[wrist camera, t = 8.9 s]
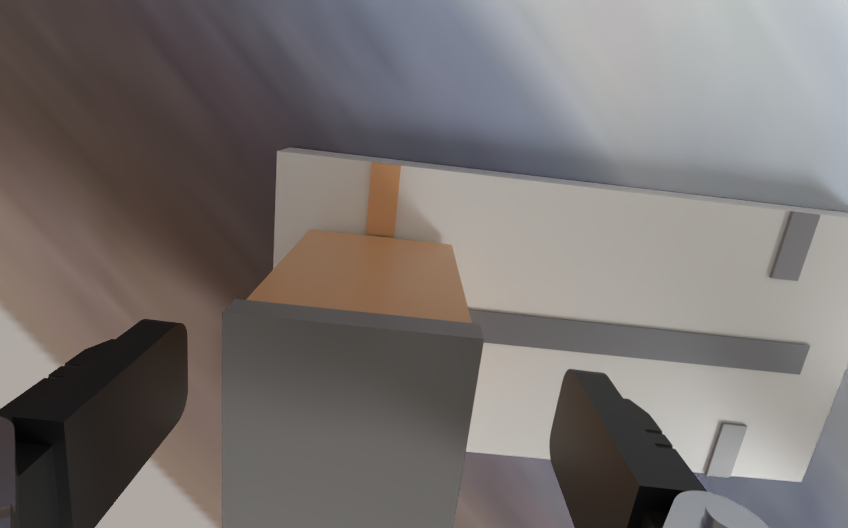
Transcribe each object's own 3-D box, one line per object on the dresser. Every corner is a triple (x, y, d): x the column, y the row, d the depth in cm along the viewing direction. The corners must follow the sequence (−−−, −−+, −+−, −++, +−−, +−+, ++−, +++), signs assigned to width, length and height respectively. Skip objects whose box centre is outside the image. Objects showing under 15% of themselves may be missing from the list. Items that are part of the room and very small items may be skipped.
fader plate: (860, 213, 16) (907, 224, 15) (772, 453, 19) (804, 484, 17) (290, 147, 15) (276, 151, 14) (279, 407, 18) (266, 435, 16)
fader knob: (455, 241, 14) (484, 338, 8) (433, 402, 16) (443, 586, 10) (306, 225, 14) (222, 311, 8) (298, 389, 16) (221, 568, 10)
